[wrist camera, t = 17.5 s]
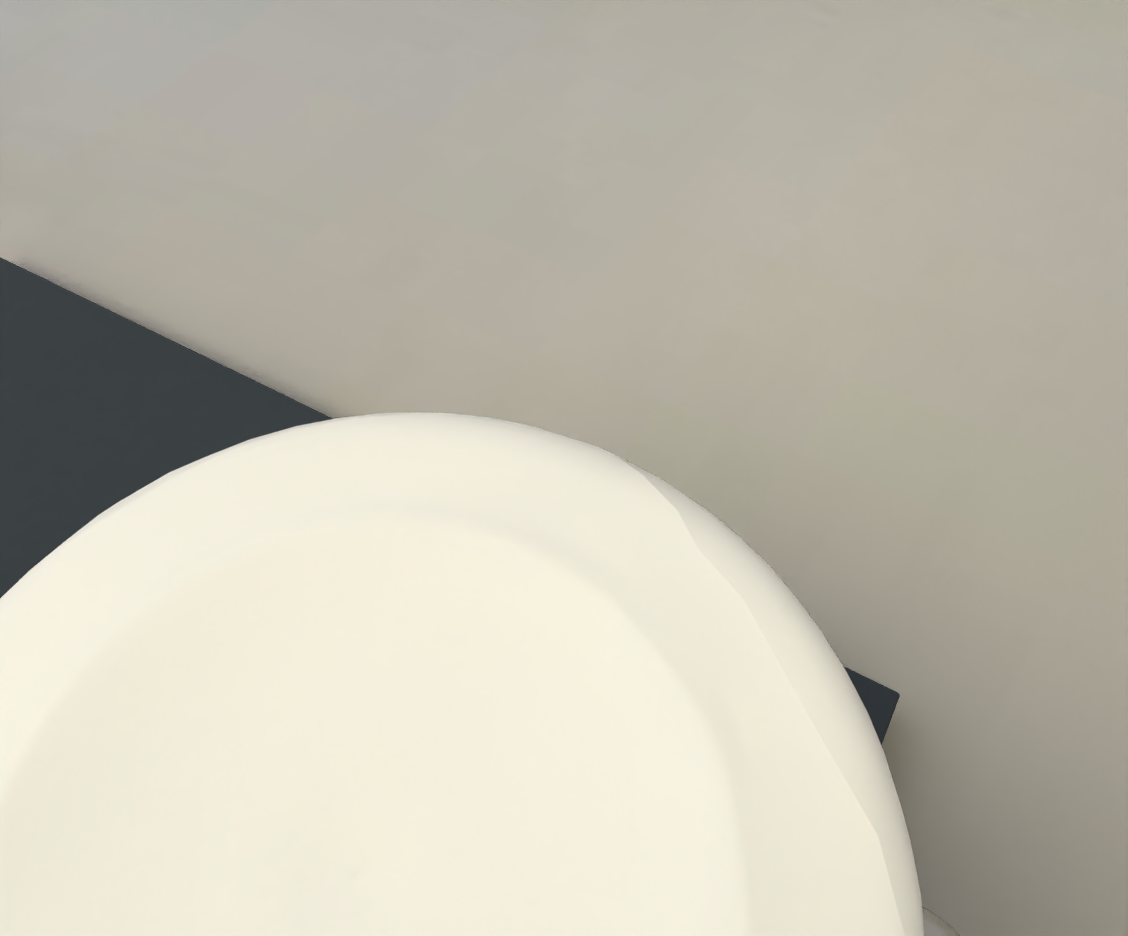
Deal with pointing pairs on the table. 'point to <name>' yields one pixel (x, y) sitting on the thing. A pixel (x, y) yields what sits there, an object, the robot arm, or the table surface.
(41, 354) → the mat
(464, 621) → the sprinkles bottle
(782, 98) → the table surface
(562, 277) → the table surface
